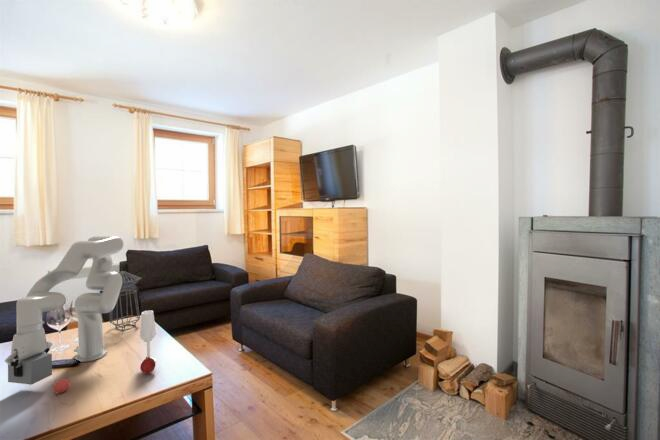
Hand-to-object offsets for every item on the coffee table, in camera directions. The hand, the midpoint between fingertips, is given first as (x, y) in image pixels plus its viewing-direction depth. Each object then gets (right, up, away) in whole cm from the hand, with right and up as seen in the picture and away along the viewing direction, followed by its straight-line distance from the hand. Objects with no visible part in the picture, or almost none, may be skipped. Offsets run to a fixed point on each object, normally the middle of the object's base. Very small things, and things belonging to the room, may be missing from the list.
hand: (30, 370), depth 128 cm
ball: (+14, -5, -1) cm, 15 cm away
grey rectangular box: (0, -3, 0) cm, 3 cm away
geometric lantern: (-5, -5, +66) cm, 67 cm away
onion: (+41, -7, +12) cm, 43 cm away
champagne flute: (+34, -7, +24) cm, 42 cm away
